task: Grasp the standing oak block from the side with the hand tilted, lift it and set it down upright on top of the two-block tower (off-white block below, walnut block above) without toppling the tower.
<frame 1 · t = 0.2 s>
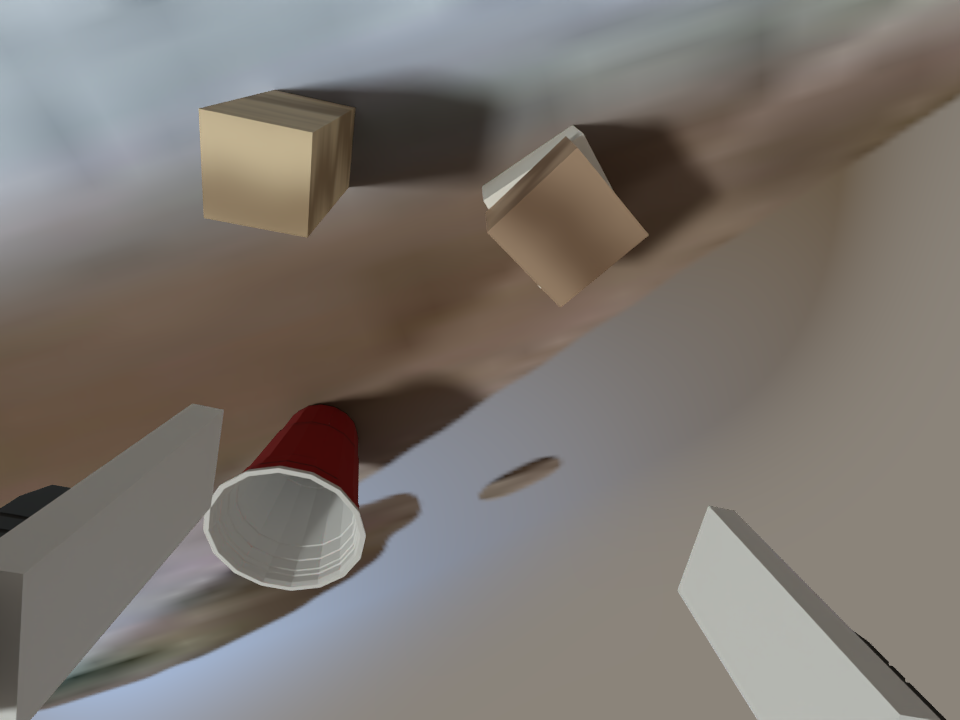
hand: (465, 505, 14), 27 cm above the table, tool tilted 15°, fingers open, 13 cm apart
offwhite block: (551, 200, 38), on the table, touching walnut block
walnut block: (558, 214, 34), point 4 cm above the table, touching offwhite block
oak block: (313, 140, 35), on the table
plastic cup: (324, 427, 47), on the table
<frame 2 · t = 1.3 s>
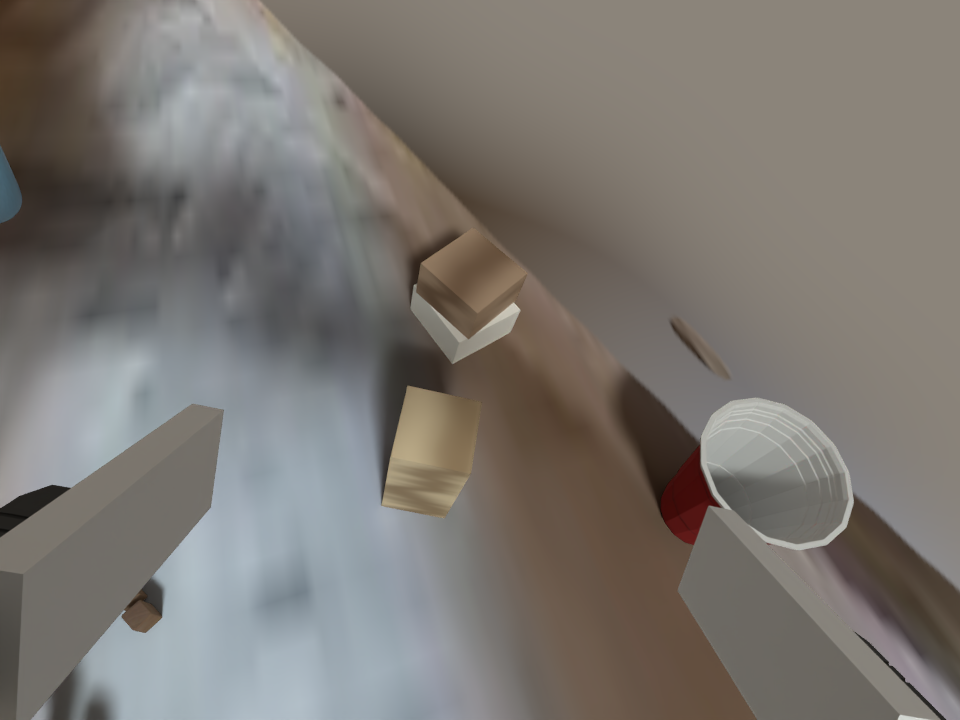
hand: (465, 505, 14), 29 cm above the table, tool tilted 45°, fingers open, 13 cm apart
offwhite block: (460, 322, 53), on the table, touching walnut block
walnut block: (466, 296, 49), point 4 cm above the table, touching offwhite block
oak block: (419, 481, 44), on the table
plastic cup: (686, 512, 48), on the table
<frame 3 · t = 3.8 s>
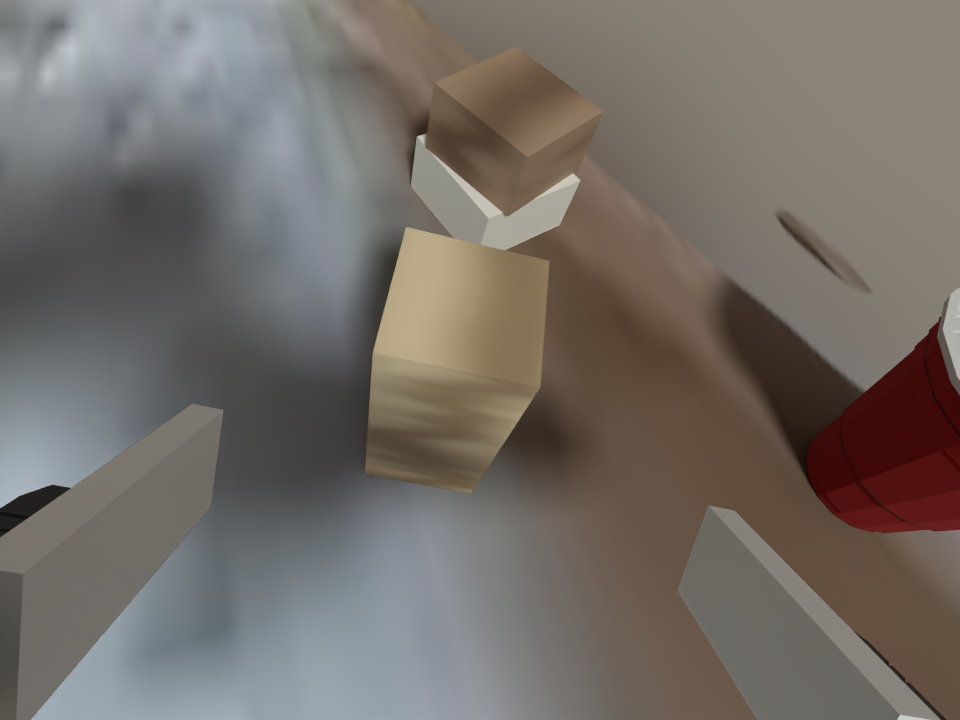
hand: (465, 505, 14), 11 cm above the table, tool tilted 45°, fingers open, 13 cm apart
offwhite block: (485, 208, 35), on the table, touching walnut block
walnut block: (503, 159, 32), point 4 cm above the table, touching offwhite block
oak block: (427, 434, 27), on the table
plastic cup: (846, 480, 30), on the table
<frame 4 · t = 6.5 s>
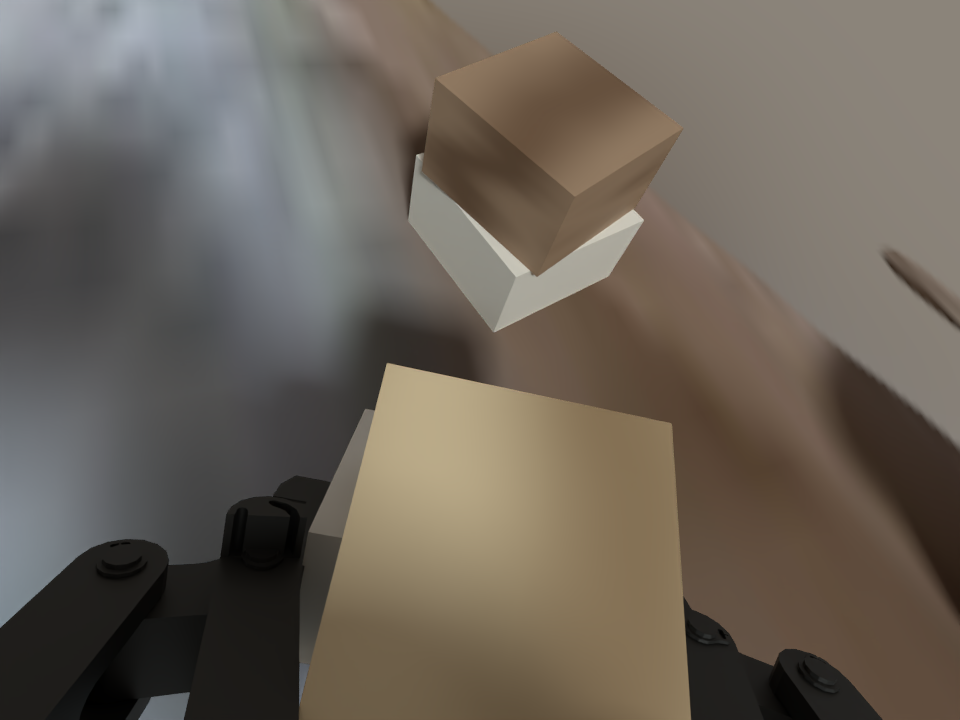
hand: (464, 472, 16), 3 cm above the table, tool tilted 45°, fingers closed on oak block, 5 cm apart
offwhite block: (508, 252, 26), on the table, touching walnut block
walnut block: (532, 190, 23), point 4 cm above the table, touching offwhite block
oak block: (429, 619, 17), on the table, touching gripper
when the fingers open (13 cm above the table, at t = 11.8 s): oak block drops 2 cm, resting on walnut block.
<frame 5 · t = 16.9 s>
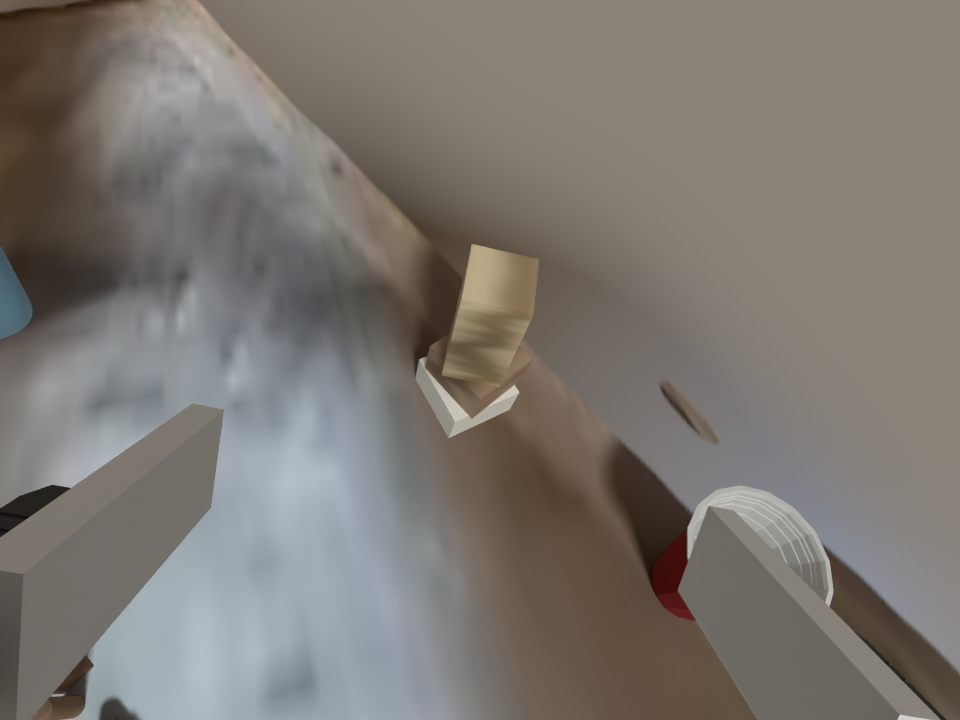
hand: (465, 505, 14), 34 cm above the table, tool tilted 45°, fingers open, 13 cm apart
offwhite block: (462, 395, 55), on the table, touching walnut block
walnut block: (473, 374, 51), point 4 cm above the table, touching oak block, offwhite block
oak block: (474, 356, 48), point 8 cm above the table, touching walnut block
plastic cup: (677, 584, 49), on the table
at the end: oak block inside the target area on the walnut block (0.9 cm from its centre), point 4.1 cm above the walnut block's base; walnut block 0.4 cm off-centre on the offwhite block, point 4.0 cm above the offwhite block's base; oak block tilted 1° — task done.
